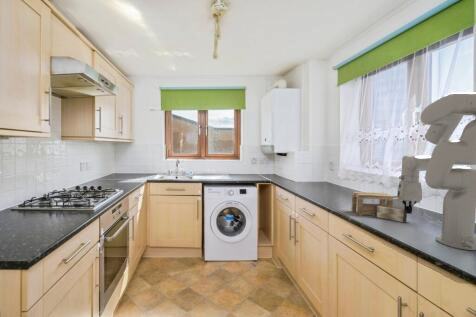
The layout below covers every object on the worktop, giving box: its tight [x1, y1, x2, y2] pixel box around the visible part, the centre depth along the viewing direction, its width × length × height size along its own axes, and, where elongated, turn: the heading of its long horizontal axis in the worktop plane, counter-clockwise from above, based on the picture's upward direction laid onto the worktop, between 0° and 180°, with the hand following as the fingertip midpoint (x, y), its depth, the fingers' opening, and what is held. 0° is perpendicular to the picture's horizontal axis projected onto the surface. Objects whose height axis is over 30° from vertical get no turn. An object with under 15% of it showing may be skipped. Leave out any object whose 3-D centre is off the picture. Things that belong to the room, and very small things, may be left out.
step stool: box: [351, 191, 394, 217], centre depth 134 cm, size 10×18×12 cm, turn 84°
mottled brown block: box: [374, 206, 408, 223], centre depth 124 cm, size 14×2×6 cm, turn 49°
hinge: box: [385, 195, 405, 210], centre depth 147 cm, size 17×5×10 cm, turn 81°
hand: (408, 213), depth 122 cm, fingers closed
